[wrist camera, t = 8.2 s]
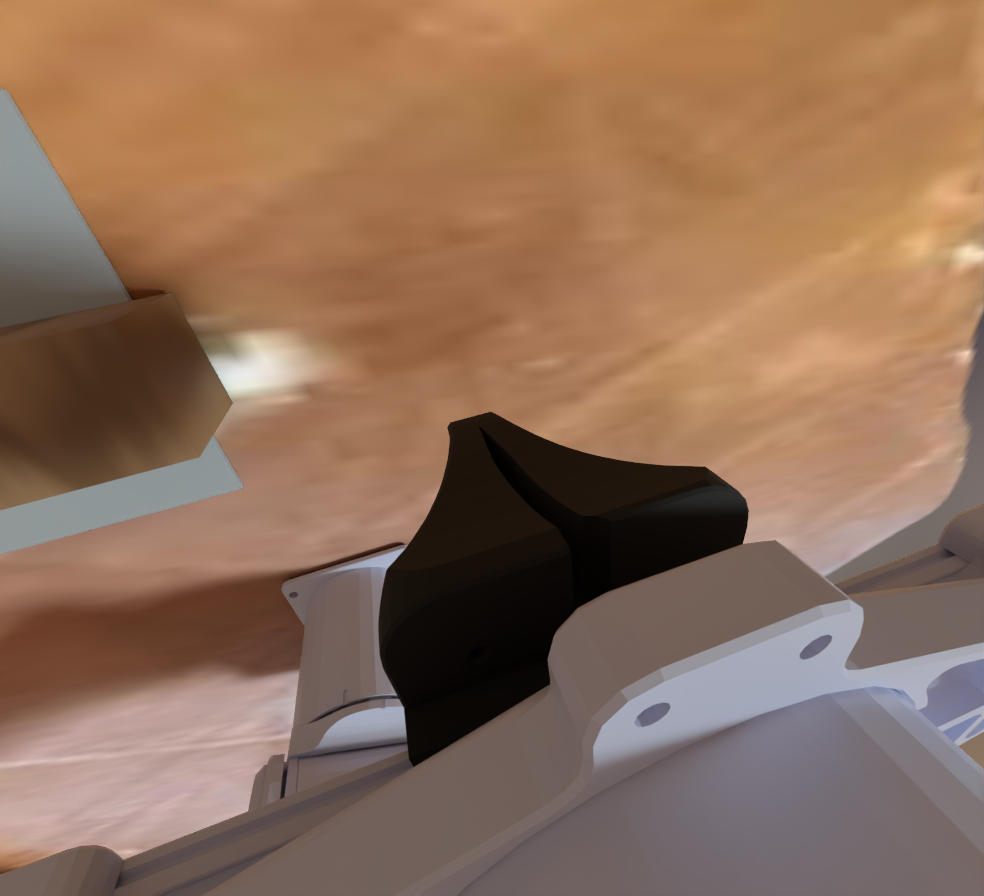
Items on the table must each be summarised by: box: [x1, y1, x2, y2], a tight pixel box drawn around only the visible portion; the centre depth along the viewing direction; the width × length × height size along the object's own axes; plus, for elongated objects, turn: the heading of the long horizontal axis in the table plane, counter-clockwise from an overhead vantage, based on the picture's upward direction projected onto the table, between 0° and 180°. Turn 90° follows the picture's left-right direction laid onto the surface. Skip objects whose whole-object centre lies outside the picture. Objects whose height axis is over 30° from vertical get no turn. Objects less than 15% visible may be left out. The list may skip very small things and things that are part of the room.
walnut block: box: [0, 292, 233, 510], centre depth 15 cm, size 5×5×9 cm
